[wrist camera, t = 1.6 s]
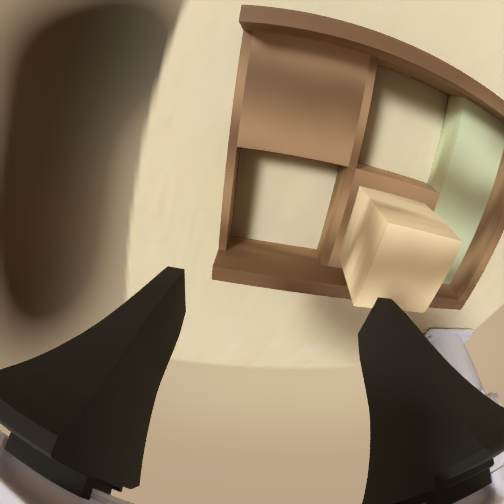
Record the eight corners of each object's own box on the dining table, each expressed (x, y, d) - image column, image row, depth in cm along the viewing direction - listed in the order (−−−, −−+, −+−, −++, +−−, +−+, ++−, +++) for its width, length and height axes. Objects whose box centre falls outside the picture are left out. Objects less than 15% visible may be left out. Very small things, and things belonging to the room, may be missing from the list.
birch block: (399, 265, 18) (424, 312, 14) (338, 255, 18) (353, 306, 14) (424, 203, 15) (463, 241, 11) (359, 186, 15) (388, 222, 11)
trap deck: (442, 280, 21) (460, 309, 17) (222, 246, 21) (212, 279, 17) (501, 115, 12) (534, 126, 9) (249, 23, 12) (241, 4, 9)
